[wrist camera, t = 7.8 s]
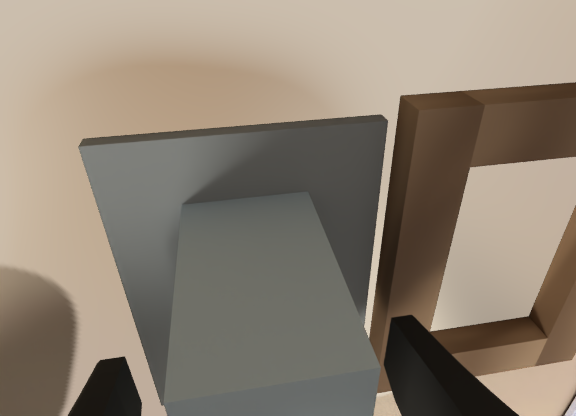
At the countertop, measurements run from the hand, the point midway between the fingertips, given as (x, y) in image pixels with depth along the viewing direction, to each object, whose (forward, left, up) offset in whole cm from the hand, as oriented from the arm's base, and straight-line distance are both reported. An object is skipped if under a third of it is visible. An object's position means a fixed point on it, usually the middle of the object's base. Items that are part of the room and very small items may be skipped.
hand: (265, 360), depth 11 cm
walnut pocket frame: (-9, 0, -3) cm, 10 cm away
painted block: (0, 0, -3) cm, 3 cm away
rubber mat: (0, 0, -3) cm, 3 cm away
